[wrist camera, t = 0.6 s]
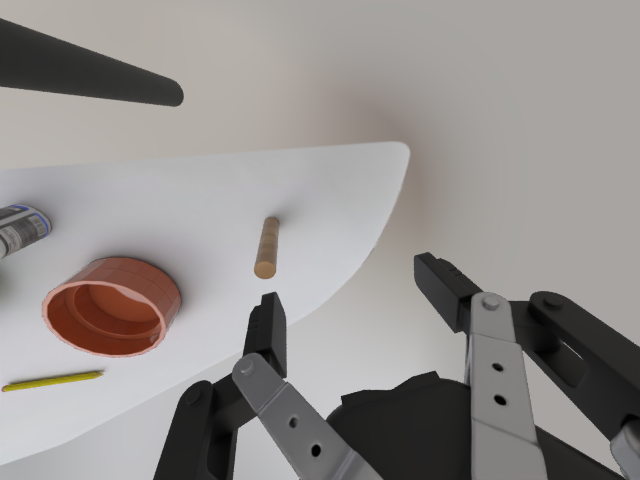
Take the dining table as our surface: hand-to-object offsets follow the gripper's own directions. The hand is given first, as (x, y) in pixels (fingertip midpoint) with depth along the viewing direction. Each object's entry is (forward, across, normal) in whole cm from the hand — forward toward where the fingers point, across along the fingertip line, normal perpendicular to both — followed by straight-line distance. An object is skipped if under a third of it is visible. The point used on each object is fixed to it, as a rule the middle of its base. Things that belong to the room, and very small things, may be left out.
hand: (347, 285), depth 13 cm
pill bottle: (+22, +36, -5) cm, 43 cm away
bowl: (+22, +31, +10) cm, 39 cm away
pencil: (+22, +54, +23) cm, 62 cm away
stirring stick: (+22, +7, +4) cm, 23 cm away
